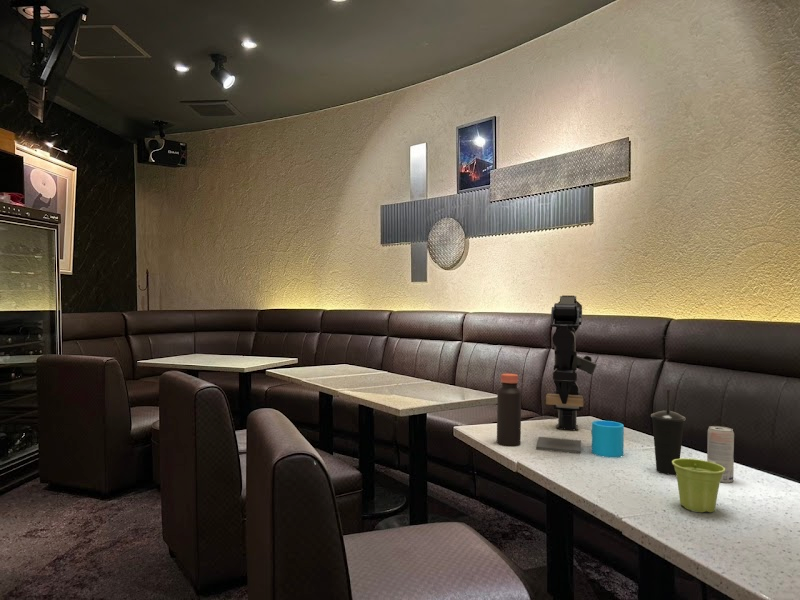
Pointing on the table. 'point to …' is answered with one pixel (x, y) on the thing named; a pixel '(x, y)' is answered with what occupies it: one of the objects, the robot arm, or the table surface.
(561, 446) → the rubber mat
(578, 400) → the walnut lid
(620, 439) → the blue cup
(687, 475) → the plant pot
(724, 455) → the energy drink
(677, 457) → the drinking cup
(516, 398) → the bottle
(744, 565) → the table surface
